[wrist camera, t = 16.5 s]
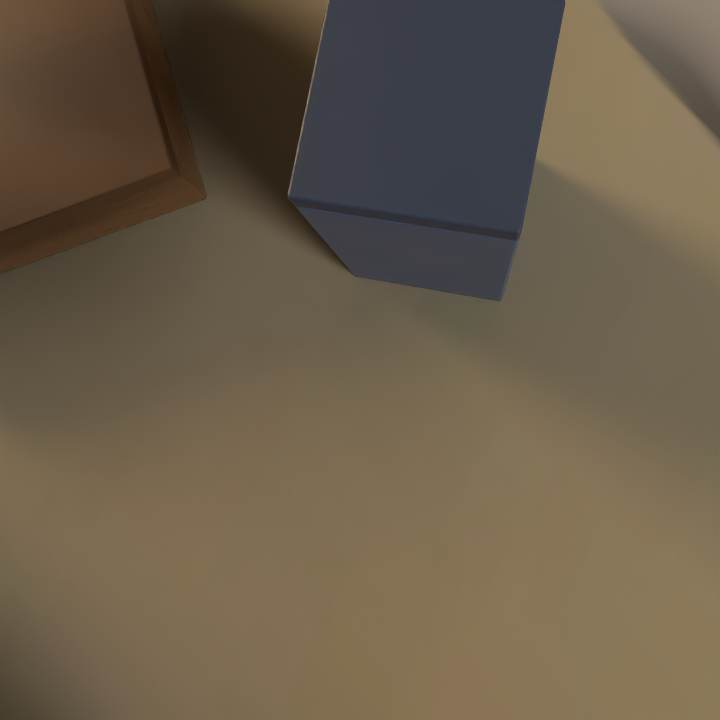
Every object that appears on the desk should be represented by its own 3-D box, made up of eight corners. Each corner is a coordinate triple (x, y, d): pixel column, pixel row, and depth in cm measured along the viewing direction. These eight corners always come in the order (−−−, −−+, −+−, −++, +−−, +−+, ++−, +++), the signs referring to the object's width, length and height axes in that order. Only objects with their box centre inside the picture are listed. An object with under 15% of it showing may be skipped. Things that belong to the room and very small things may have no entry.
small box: (501, 301, 21) (521, 233, 13) (353, 276, 21) (285, 197, 13) (529, 154, 21) (566, -3, 13) (382, 134, 22) (331, -26, 14)
